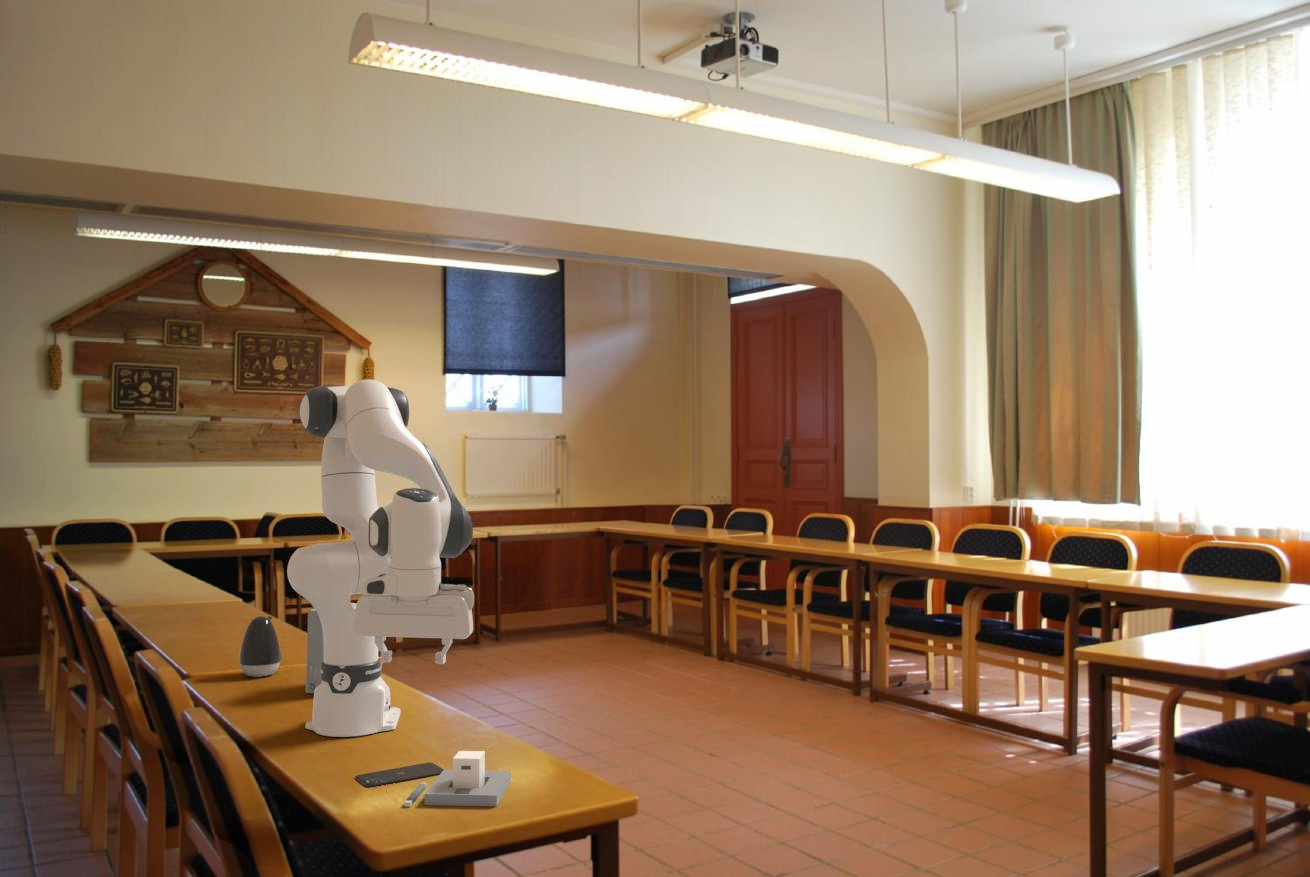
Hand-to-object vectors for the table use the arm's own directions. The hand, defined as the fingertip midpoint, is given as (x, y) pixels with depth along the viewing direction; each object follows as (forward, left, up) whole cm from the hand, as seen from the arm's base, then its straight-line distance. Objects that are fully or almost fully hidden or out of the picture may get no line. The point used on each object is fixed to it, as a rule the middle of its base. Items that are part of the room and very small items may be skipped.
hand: (413, 662), depth 181 cm
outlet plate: (+2, +10, -22) cm, 24 cm away
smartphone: (-6, -4, -22) cm, 23 cm away
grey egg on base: (-85, -63, -22) cm, 108 cm away
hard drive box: (-72, -38, -22) cm, 85 cm away
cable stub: (+5, +2, -22) cm, 22 cm away
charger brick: (+2, +10, -21) cm, 24 cm away
